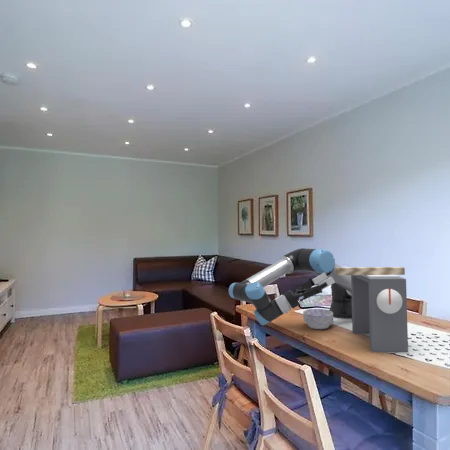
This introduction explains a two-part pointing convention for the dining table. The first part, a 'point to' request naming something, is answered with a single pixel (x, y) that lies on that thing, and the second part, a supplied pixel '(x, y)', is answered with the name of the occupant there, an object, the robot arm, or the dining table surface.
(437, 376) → the dining table surface
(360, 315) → the scale shelf
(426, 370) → the dining table surface
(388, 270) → the beech bar
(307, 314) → the paper bowls
